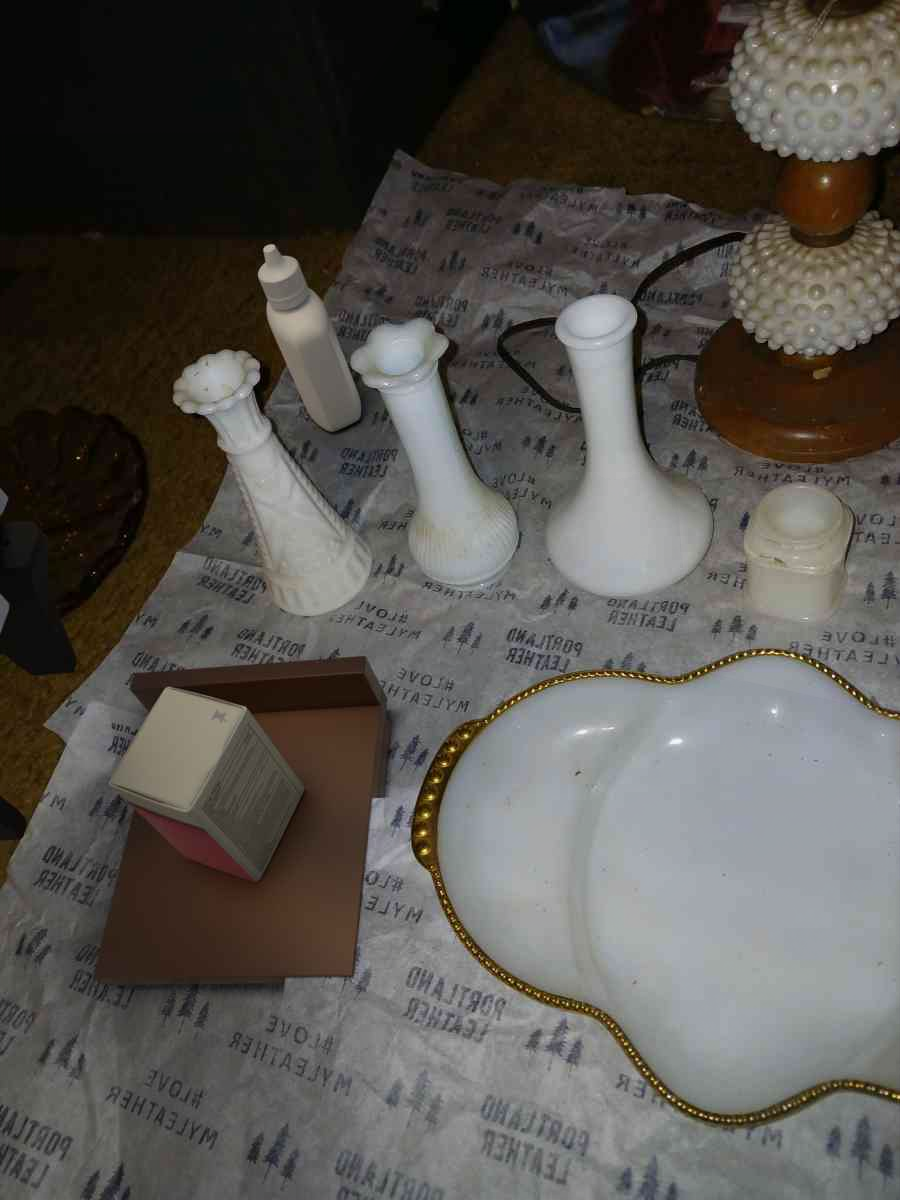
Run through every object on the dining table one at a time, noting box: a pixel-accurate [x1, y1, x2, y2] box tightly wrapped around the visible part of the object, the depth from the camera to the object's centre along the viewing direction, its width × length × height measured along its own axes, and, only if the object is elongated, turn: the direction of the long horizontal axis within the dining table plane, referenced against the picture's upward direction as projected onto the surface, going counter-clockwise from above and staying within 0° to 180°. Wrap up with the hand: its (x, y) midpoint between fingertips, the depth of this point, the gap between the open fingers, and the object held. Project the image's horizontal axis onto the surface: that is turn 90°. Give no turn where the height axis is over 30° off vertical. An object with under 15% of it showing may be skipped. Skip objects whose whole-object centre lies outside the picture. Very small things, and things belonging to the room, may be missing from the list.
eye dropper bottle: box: [257, 243, 362, 433], centre depth 64 cm, size 4×6×12 cm
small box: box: [108, 687, 305, 882], centre depth 47 cm, size 5×4×8 cm
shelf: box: [92, 655, 392, 986], centre depth 50 cm, size 14×12×5 cm
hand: (30, 745), depth 45 cm, fingers open, 7 cm apart
